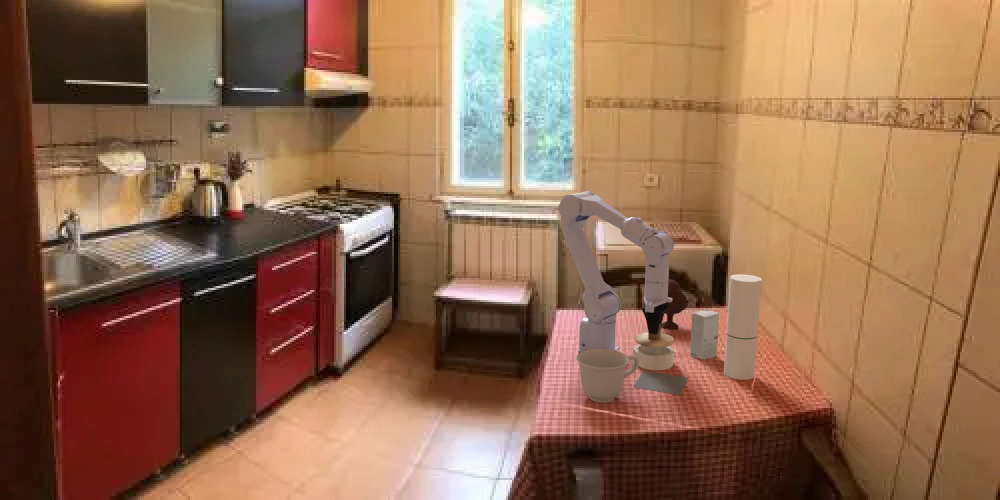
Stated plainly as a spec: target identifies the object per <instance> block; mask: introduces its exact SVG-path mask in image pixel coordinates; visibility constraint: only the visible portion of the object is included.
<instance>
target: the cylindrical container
mask: <svg viewBox="0 0 1000 500" xmlns="http://www.w3.org/2000/svg"><path fill="white" fill-rule="evenodd" d="M762 281H763V279H762V278H761V277H759V276H756V275H752V274H743V273H740V274H732V275H730V276H729V289H728V300H727V301H728V302H727V317H726V319H727V321H726V334H725V350H724V364H723V374H724V375H725V377H728V378H731V379H733V380H741V381H742V380H746V381H747V380H752V379H753V380H754V379H755V374H756V373H755V372H756V371H755V370H756V360H757V359H756V357H757V356H756V355H757V344H758V333H759V332H758V331H759V319H760V318H759V317H760V305H761V292H762Z"/></svg>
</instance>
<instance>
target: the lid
mask: <svg viewBox="0 0 1000 500" xmlns="http://www.w3.org/2000/svg"><path fill="white" fill-rule="evenodd" d="M634 338H635V343H636V344H637V345H638V344H640V345H642V346H646V347H654V348H661V347H667V346H669V347H671V346H672V345H674V340H675V339H674V337H673V336H671V335H669V334H668V333H663V332H662V328H661V323H660V325H659V330H658V333H657V334H649V332H648V331H647V332H641V333H638V334H637V335H635V337H634Z"/></svg>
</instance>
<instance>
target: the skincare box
mask: <svg viewBox="0 0 1000 500" xmlns="http://www.w3.org/2000/svg"><path fill="white" fill-rule="evenodd" d="M719 317H720V313H719V312H717V311H712V310H708V309H705V310H699V311H696V312H692V313H691V332H690V351H689V353H690V354H689V356H690V357H692V358H697V359H699V360H710V359H712V358H716V357H717V356H718V354H717V353H718V341H719V340H718V338H719Z"/></svg>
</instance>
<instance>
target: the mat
mask: <svg viewBox="0 0 1000 500" xmlns="http://www.w3.org/2000/svg"><path fill="white" fill-rule="evenodd" d="M688 379H689V376H688V377H686V376H680V375H675V374H669V373H661V372H655V371H651V370H642V372H641V374H640V375H639V376H638V378H637V380H636V381H635V383H634V384H633V386H632V388H635V389H636V388H637V389H642V390H647V391H653V392H658V393H659V392H660V393H666V394H672V395H676V396H677V395H678V396H681V394H682V392H683V390H684V388H685V385H686V383H687V382H688Z"/></svg>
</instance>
